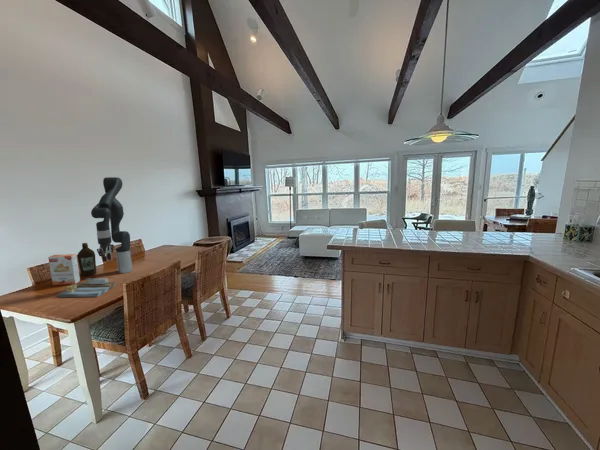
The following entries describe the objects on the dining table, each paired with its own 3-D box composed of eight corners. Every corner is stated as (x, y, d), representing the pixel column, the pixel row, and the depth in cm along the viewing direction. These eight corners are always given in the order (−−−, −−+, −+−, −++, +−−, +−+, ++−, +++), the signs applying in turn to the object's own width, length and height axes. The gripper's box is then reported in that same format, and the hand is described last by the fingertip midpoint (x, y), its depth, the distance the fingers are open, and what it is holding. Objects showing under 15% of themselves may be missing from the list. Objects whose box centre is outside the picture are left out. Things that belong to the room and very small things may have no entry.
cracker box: (52, 285, 177) (47, 256, 173) (58, 282, 183) (54, 254, 179) (75, 284, 179) (70, 255, 176) (80, 281, 185) (76, 253, 182)
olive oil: (79, 273, 200) (75, 243, 196) (96, 270, 207) (92, 241, 203) (80, 277, 192) (76, 245, 188) (98, 274, 200) (94, 243, 196)
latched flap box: (80, 286, 176) (79, 278, 175) (115, 285, 177) (115, 278, 176) (58, 297, 159) (57, 289, 158) (97, 296, 160) (96, 288, 159)
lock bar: (84, 284, 171) (84, 279, 170) (88, 282, 174) (87, 277, 173) (105, 284, 172) (105, 278, 171) (108, 282, 175) (108, 277, 174)
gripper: (105, 234, 182) (108, 257, 185) (90, 238, 168) (94, 263, 171) (116, 234, 183) (119, 257, 185) (102, 238, 169) (105, 263, 171)
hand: (107, 260), depth 178 cm, fingers open, 3 cm apart
